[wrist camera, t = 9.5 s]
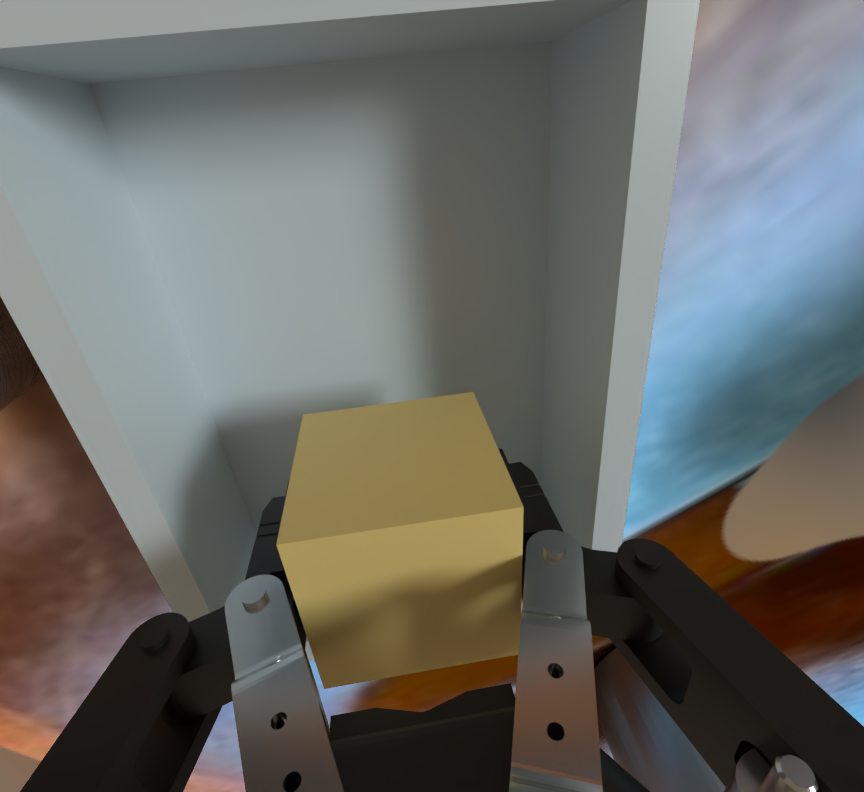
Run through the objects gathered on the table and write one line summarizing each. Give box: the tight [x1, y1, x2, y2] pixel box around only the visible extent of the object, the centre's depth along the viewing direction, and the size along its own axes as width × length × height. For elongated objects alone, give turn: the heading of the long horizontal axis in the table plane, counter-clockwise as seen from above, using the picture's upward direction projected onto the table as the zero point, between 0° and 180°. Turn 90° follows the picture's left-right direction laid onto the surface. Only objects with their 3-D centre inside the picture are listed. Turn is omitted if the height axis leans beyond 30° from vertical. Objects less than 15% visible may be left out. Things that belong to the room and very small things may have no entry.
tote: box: [0, 0, 700, 660], centre depth 14 cm, size 18×14×6 cm
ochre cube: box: [276, 392, 524, 689], centre depth 13 cm, size 5×5×5 cm
